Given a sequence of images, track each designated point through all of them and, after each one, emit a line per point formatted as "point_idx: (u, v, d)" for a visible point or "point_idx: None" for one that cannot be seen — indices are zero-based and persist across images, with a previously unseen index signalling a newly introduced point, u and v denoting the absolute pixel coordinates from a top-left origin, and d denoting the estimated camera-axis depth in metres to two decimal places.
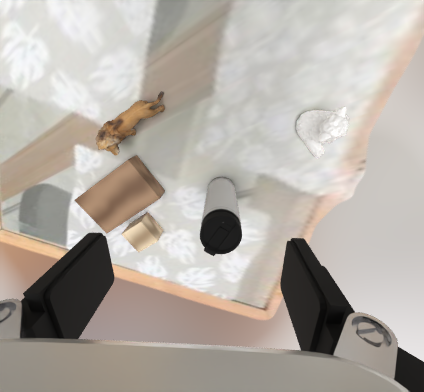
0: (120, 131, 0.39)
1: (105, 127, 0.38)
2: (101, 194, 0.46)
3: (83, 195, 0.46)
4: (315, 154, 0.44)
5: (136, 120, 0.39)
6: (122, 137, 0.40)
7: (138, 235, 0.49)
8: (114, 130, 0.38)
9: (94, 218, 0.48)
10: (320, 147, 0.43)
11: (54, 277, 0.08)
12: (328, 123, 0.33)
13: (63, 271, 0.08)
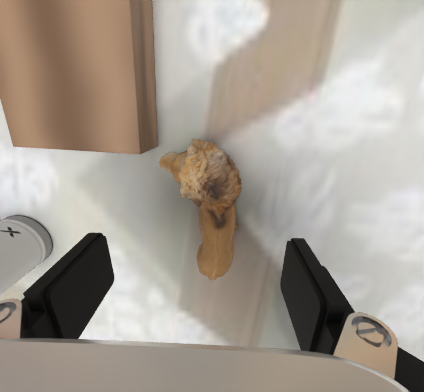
0: None
1: (227, 198, 0.14)
2: None
3: None
4: None
5: (203, 243, 0.18)
6: None
7: None
8: (210, 210, 0.15)
9: None
10: None
11: (54, 278, 0.08)
12: None
13: (63, 271, 0.08)
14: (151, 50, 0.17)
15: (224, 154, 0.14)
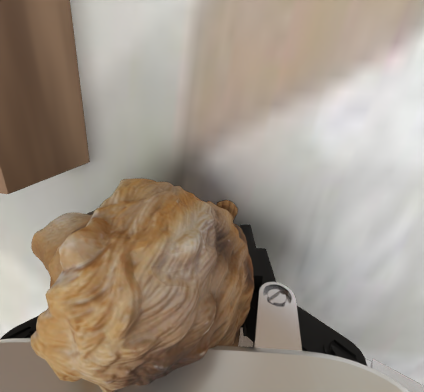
0: None
1: None
2: None
3: None
4: None
5: None
6: None
7: None
8: None
9: None
10: None
11: None
12: None
13: None
14: None
15: (208, 230, 0.05)
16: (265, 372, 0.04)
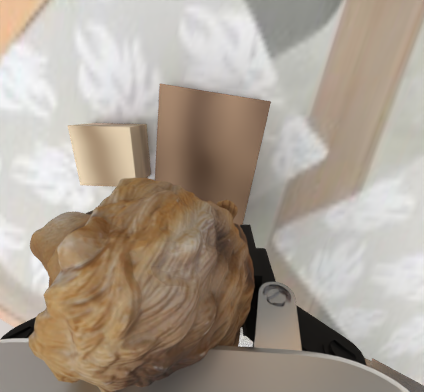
0: None
1: None
2: (231, 163, 0.21)
3: (260, 130, 0.20)
4: None
5: None
6: None
7: (108, 158, 0.21)
8: None
9: (207, 96, 0.19)
10: None
11: None
12: None
13: None
14: None
15: (209, 229, 0.05)
16: (265, 372, 0.04)
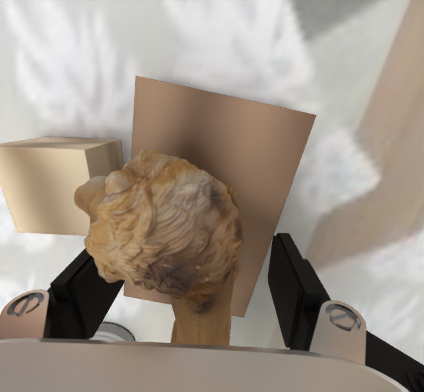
0: None
1: (212, 279, 0.07)
2: (245, 204, 0.14)
3: (295, 158, 0.13)
4: None
5: (177, 326, 0.10)
6: None
7: (55, 196, 0.14)
8: (177, 298, 0.07)
9: (214, 101, 0.12)
10: None
11: (77, 270, 0.08)
12: None
13: (85, 264, 0.08)
14: None
15: (205, 185, 0.06)
16: (265, 372, 0.04)
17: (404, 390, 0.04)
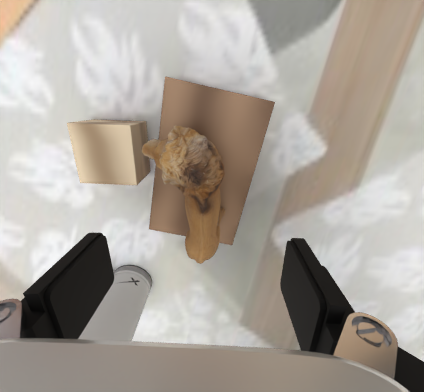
0: None
1: (209, 183, 0.14)
2: (232, 160, 0.22)
3: (263, 129, 0.20)
4: None
5: None
6: None
7: (108, 156, 0.21)
8: (193, 196, 0.15)
9: (212, 93, 0.19)
10: None
11: (54, 277, 0.08)
12: None
13: (63, 271, 0.08)
14: None
15: (205, 140, 0.14)
16: (265, 372, 0.04)
17: (404, 390, 0.04)
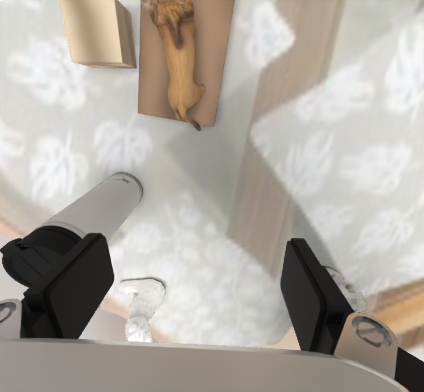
0: (162, 29, 0.19)
1: (178, 1, 0.17)
2: (207, 31, 0.24)
3: None
4: (122, 286, 0.44)
5: None
6: (153, 21, 0.19)
7: (96, 31, 0.24)
8: (166, 18, 0.18)
9: None
10: (127, 293, 0.44)
11: (54, 277, 0.08)
12: (143, 334, 0.36)
13: (63, 271, 0.08)
14: None
15: None
16: (265, 372, 0.04)
17: (404, 390, 0.04)
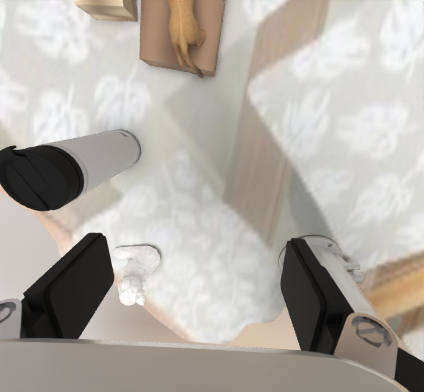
0: None
1: None
2: None
3: None
4: (117, 251, 0.44)
5: (170, 8, 0.22)
6: None
7: None
8: None
9: None
10: (122, 258, 0.44)
11: (54, 278, 0.08)
12: (136, 291, 0.36)
13: (63, 271, 0.08)
14: (223, 13, 0.30)
15: None
16: (265, 372, 0.04)
17: (404, 390, 0.04)
